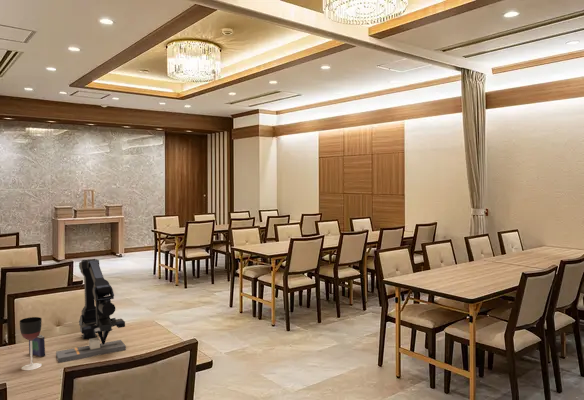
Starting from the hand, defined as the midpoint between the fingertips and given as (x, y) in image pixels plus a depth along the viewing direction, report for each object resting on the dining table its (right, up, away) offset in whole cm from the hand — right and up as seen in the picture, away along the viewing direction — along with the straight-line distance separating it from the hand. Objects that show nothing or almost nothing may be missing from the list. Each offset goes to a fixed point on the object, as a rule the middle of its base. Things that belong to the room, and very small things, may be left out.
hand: (103, 344), depth 210 cm
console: (-4, -3, -3) cm, 6 cm away
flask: (-28, -4, -5) cm, 28 cm away
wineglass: (-23, -4, -18) cm, 29 cm away
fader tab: (-3, -1, -2) cm, 4 cm away
